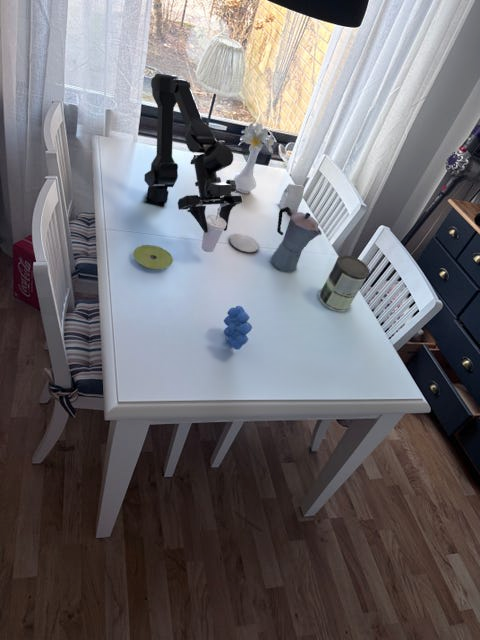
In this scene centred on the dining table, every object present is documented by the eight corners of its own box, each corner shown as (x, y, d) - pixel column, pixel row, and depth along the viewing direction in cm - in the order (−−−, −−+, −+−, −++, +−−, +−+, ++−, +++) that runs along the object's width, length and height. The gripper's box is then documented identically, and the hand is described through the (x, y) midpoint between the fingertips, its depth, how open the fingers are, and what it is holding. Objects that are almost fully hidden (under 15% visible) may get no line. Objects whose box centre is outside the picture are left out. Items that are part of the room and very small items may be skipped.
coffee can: (312, 295, 148) (330, 259, 139) (330, 286, 155) (349, 251, 146) (337, 316, 144) (357, 280, 135) (355, 306, 151) (376, 271, 142)
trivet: (224, 243, 155) (224, 242, 155) (236, 231, 163) (236, 230, 163) (251, 257, 154) (252, 255, 154) (262, 244, 162) (262, 243, 162)
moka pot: (295, 281, 152) (320, 228, 139) (255, 256, 155) (276, 203, 142) (307, 270, 159) (332, 218, 146) (269, 247, 162) (290, 194, 149)
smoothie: (219, 246, 145) (232, 206, 136) (216, 257, 140) (229, 217, 131) (198, 239, 144) (210, 198, 135) (195, 250, 139) (207, 209, 130)
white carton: (296, 211, 188) (306, 188, 182) (281, 209, 185) (290, 186, 179) (293, 206, 190) (302, 183, 184) (278, 204, 188) (287, 181, 181)
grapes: (252, 360, 120) (267, 327, 112) (227, 361, 117) (241, 327, 109) (238, 327, 127) (252, 294, 120) (215, 327, 125) (227, 293, 117)
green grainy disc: (140, 245, 141) (141, 240, 140) (176, 258, 142) (177, 253, 141) (126, 265, 133) (127, 259, 132) (164, 279, 133) (165, 273, 132)
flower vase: (253, 180, 197) (273, 121, 181) (260, 203, 184) (282, 141, 168) (222, 174, 193) (240, 112, 177) (228, 197, 180) (247, 132, 164)
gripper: (192, 168, 123) (202, 229, 125) (249, 168, 134) (258, 224, 135) (172, 179, 133) (182, 236, 134) (227, 178, 143) (236, 230, 145)
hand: (215, 231), depth 137 cm, fingers closed on smoothie, 6 cm apart
